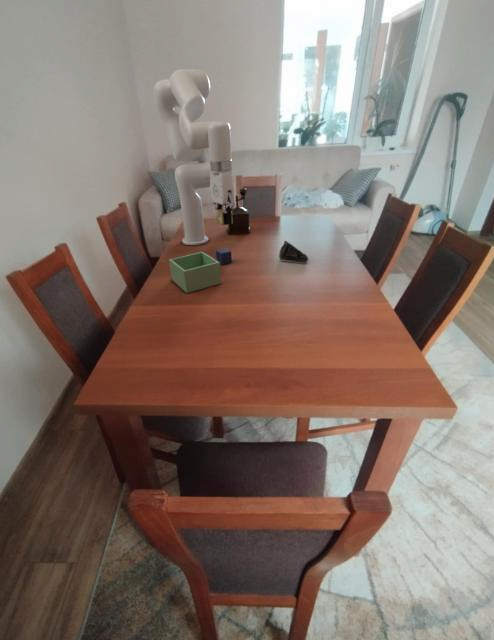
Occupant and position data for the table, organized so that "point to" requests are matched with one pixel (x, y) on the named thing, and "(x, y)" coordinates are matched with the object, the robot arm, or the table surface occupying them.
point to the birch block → (220, 216)
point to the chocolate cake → (292, 254)
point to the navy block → (223, 256)
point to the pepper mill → (239, 217)
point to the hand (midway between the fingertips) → (224, 222)
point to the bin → (195, 271)
